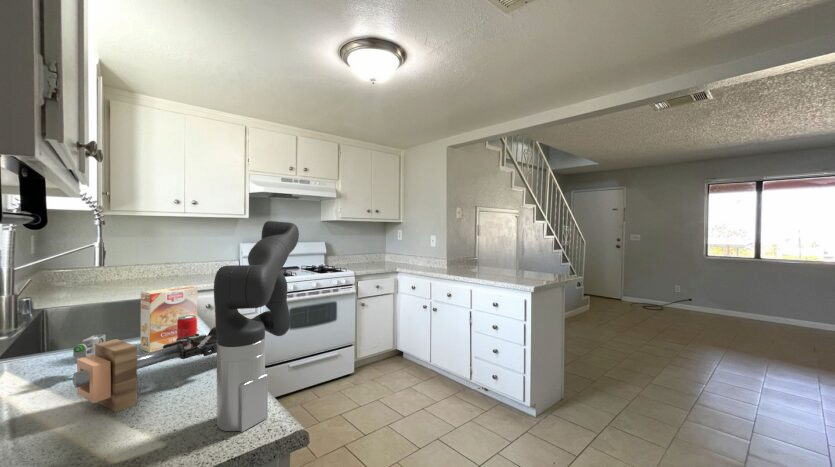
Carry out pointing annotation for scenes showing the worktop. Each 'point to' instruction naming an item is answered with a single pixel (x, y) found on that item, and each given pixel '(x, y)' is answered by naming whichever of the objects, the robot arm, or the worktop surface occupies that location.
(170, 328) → the coffeecake box
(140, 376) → the worktop surface
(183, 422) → the worktop surface
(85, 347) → the mechanical component
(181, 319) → the beverage can
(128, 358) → the bearing block
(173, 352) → the shaft
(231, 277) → the robot arm
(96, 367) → the orange block with hole
